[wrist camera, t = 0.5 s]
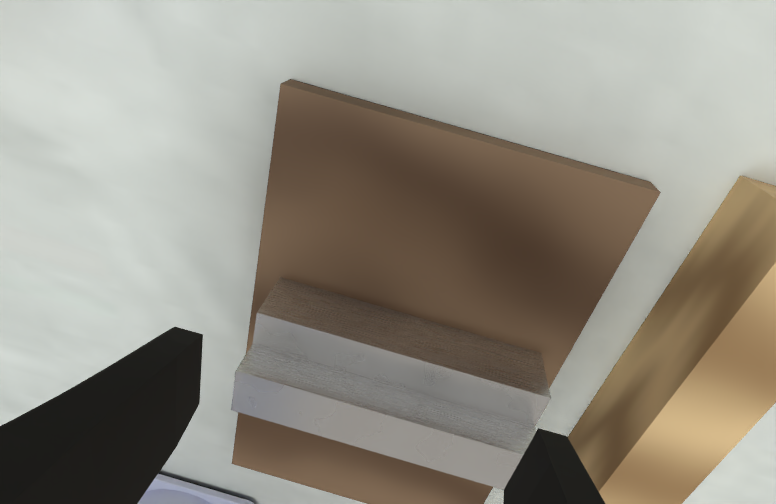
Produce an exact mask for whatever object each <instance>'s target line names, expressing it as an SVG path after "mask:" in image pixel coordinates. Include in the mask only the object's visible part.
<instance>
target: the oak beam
mask: <svg viewBox="0 0 776 504" xmlns="http://www.w3.org/2000/svg"><path fill="white" fill-rule="evenodd" d="M775 403H776V186H774V185H770V184H767V183H764V182H760V181H757V180H753V179H750V178H747V177H743V176H740V177H739V178H738V180H737V181H736V183H735V184H734V186H733V187H732V189H731V190H730V192H729V193H728V195H727V196H726V198H725V199H724V201H723V203H722V204H721V206H720V207H719V209H718V210H717V212H716V213H715V215H714V216H713V218H712V219H711V221H710V222H709V224H708V225H707V227H706V228H705V230H704V231H703V233H702V234H701V236H700V237H699V239H698V240H697V242H696V244H695V245H694V247H693V248H692V250H691V251H690V253H689V254H688V256H687V257H686V259H685V260H684V262H683V263H682V265H681V266H680V268H679V269H678V271H677V272H676V274H675V275H674V277H673V278H672V280H671V281H670V283H669V284H668V286H667V288H666V289H665V291H664V292H663V294H662V295H661V297H660V298H659V300H658V301H657V303H656V304H655V306H654V307H653V309H652V310H651V312H650V313H649V315H648V316H647V318H646V319H645V321H644V322H643V324H642V325H641V327H640V328H639V330H638V332H637V333H636V335H635V336H634V338H633V339H632V341H631V342H630V344H629V345H628V347H627V348H626V350H625V351H624V353H623V354H622V356H621V357H620V359H619V360H618V362H617V363H616V365H615V366H614V368H613V369H612V371H611V372H610V374H609V376H608V377H607V379H606V380H605V382H604V383H603V385H602V386H601V388H600V389H599V391H598V392H597V394H596V395H595V397H594V398H593V400H592V401H591V403H590V404H589V406H588V407H587V409H586V410H585V412H584V413H583V415H582V416H581V418H580V420H579V421H578V423H577V424H576V426H575V427H574V429H573V430H572V432H571V433H570V435H569V436H568V439H569V441H570V442H571V444H572V446H573V447H574V449H575V451H576V453H577V454H578V456H579V458H580V460H581V462H582V463H583V465H584V467H585V469H586V470H587V472H588V474H589V476H590V477H591V479H592V481H593V483H594V484H595V486H596V488H597V490H598V491H599V493H600V495H601V497H602V498H603V500H604V502H605V504H682V503H683V502H684V501H685V499H686V498H687V497H688V496H689V495H690V494H691V493H692V492H693V491H694V490H695V489H696V488H697V487H698V485H699V484H700V483H701V482H702V481H703V480H704V479H705V478H706V477H707V476H708V475H709V474H710V473H711V471H712V470H713V469H714V468H715V467H716V466H717V465H718V464H719V463H720V462H721V461H722V460H723V459H724V457H725V456H726V455H727V454H728V453H729V452H730V451H731V450H732V449H733V448H734V447H735V446H736V445H737V443H738V442H739V441H740V440H741V439H742V438H743V437H744V436H745V435H746V434H747V433H748V432H749V431H750V429H751V428H752V427H753V426H754V425H755V424H756V423H757V422H758V421H759V420H760V419H761V418H762V417H763V415H764V414H765V413H766V412H767V411H768V410H769V409H770V408H771V407H772V406H773V405H774V404H775Z"/></svg>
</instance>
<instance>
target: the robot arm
mask: <svg viewBox="0 0 776 504" xmlns="http://www.w3.org/2000/svg"><path fill="white" fill-rule="evenodd" d="M202 339H203V335H202V334H199V333H195V332H192V331H188V330H184V329H181V328H177V327H174V328H172V329H170V330H168V331H166V332H165V333H163V334H161V335H160V336H158V337H156V338H155V339H153V340H152V341H150V342H148V343H147V344H145V345H143V346H142V347H140V348H139V349H137V350H135V351H134V352H132V353H130V354H129V355H127V356H125V357H124V358H122V359H120V360H119V361H117V362H116V363H114V364H112V365H111V366H109V367H107V368H106V369H104V370H102V371H100V372H99V373H97V374H95V375H93V376H92V377H90V378H88V379H87V380H85V381H83V382H81V383H80V384H78V385H76V386H75V387H73V388H71V389H69V390H68V391H66V392H64V393H62V394H60V395H59V396H57V397H55V398H53V399H51V400H49V401H47V402H45V403H44V404H42V405H40V406H38V407H36V408H34V409H32V410H30V411H29V412H27V413H25V414H23V415H21V416H19V417H17V418H15V419H14V420H12V421H10V422H8V423H6V424H4V425H2V426H0V504H254V503H253V502H251V501H249V500H246V499H243V498H239V497H236V496H232V495H229V494H226V493H222V492H219V491H215V490H212V489H209V488H205V487H202V486H198V485H195V484H192V483H188V482H185V481H182V480H178V479H175V478H171V477H168V476H165V475H161V474H158V473H159V471H160V470H161V469H162V467H163V466H164V464H165V463H166V461H167V460H168V458H169V457H170V455H171V454H172V452H173V451H174V449H175V448H176V446H177V444H178V442H179V441H180V439H181V437H182V435H183V433H184V431H185V430H186V428H187V426H188V424H189V422H190V420H191V418H192V416H193V414H194V412H195V411H196V409H197V407H198V405H199V399H200V379H201V359H202ZM504 504H605V502H604V500H603V498H602V497H601V495H600V493H599V491H598V490H597V488H596V486H595V484H594V483H593V481H592V479H591V477H590V476H589V474H588V472H587V470H586V469H585V467H584V465H583V463H582V462H581V460H580V458H579V456H578V454H577V453H576V451H575V449H574V447H573V446H572V444H571V442H570V441H569V439H568V437H567V436H564V435H560V434H556V433H553V432H549V431H546V430H542V429H539V428H538V430H537V432H536V433H535V435H534V437H533V439H532V440H531V442H530V444H529V446H528V448H527V449H526V451H525V453H524V455H523V456H522V458H521V460H520V462H519V464H518V465H517V467H516V469H515V471H514V472H513V474H512V476H511V478H510V480H509V481H508V483H507V485H506V487H505V489H504Z"/></svg>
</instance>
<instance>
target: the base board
mask: <svg viewBox="0 0 776 504" xmlns="http://www.w3.org/2000/svg"><path fill="white" fill-rule="evenodd" d="M660 193H661V192H660V191H659V190H658V189H657V188H656V187H655V186H654V185H653V184H652V183H651V182H648V181H645V180H641V179H638V178H634V177H631V176H627V175H624V174H620V173H617V172H613V171H610V170H606V169H603V168H599V167H596V166H592V165H589V164H585V163H582V162H578V161H575V160H571V159H568V158H564V157H561V156H557V155H554V154H550V153H547V152H543V151H540V150H536V149H533V148H529V147H526V146H522V145H519V144H515V143H512V142H508V141H505V140H501V139H498V138H494V137H491V136H487V135H484V134H480V133H477V132H473V131H470V130H466V129H463V128H459V127H456V126H452V125H449V124H445V123H442V122H438V121H435V120H431V119H428V118H424V117H421V116H417V115H414V114H410V113H407V112H403V111H400V110H396V109H393V108H389V107H386V106H382V105H379V104H375V103H372V102H368V101H365V100H361V99H358V98H354V97H351V96H347V95H344V94H340V93H337V92H333V91H330V90H326V89H323V88H319V87H316V86H312V85H309V84H305V83H302V82H298V81H295V80H291V79H290V80H288V81H285V82H283V83H281V85H280V93H279V101H278V108H277V116H276V124H275V132H274V139H273V147H272V155H271V163H270V171H269V178H268V186H267V194H266V202H265V209H264V217H263V225H262V233H261V241H260V248H259V256H258V264H257V272H256V280H255V287H254V295H253V303H252V311H251V318H250V326H249V334H248V342H247V350H246V354H247V352H248V350H249V349H250V347H251V345H252V344H253V337H254V330H255V322H256V315H257V312H258V310H259V309H260V307H261V306H262V304H263V303H264V301H265V299H266V298H267V296H268V295H269V293H270V292H271V290H272V289H273V287H274V286H275V284H276V283H277V281H278V280H279V278H280V277H281V278H285V279H288V280H291V281H295V282H298V283H302V284H305V285H309V286H312V287H316V288H319V289H322V290H326V291H329V292H333V293H336V294H340V295H343V296H347V297H350V298H354V299H357V300H360V301H364V302H367V303H371V304H374V305H378V306H381V307H385V308H388V309H391V310H395V311H398V312H402V313H405V314H409V315H412V316H416V317H419V318H422V319H426V320H429V321H433V322H436V323H440V324H443V325H447V326H450V327H454V328H457V329H460V330H464V331H467V332H471V333H474V334H478V335H481V336H485V337H488V338H491V339H495V340H498V341H502V342H505V343H509V344H512V345H516V346H519V347H523V348H526V349H529V350H533V351H536V352H540V353H541V354H542V358H543V363H544V368H545V373H546V377H547V382H548V387H549V388H550V386H551V384H552V382H553V381H554V379H555V377H556V375H557V374H558V372H559V370H560V368H561V367H562V365H563V363H564V361H565V359H566V358H567V356H568V354H569V352H570V351H571V349H572V347H573V345H574V344H575V342H576V340H577V338H578V337H579V335H580V333H581V331H582V330H583V328H584V326H585V324H586V323H587V321H588V319H589V317H590V316H591V314H592V312H593V310H594V309H595V307H596V305H597V303H598V301H599V300H600V298H601V296H602V294H603V293H604V291H605V289H606V287H607V286H608V284H609V282H610V280H611V279H612V277H613V275H614V273H615V272H616V270H617V268H618V266H619V265H620V263H621V261H622V259H623V258H624V256H625V254H626V252H627V251H628V249H629V247H630V245H631V243H632V242H633V240H634V238H635V236H636V235H637V233H638V231H639V229H640V228H641V226H642V224H643V222H644V221H645V219H646V217H647V215H648V214H649V212H650V210H651V208H652V207H653V205H654V203H655V201H656V200H657V198H658V196H659V194H660ZM232 464H235V465H238V466H241V467H245V468H248V469H252V470H255V471H258V472H262V473H265V474H269V475H272V476H275V477H279V478H282V479H286V480H289V481H292V482H296V483H299V484H303V485H306V486H309V487H313V488H316V489H320V490H323V491H326V492H330V493H333V494H337V495H340V496H343V497H347V498H350V499H354V500H357V501H360V502H364V503H367V504H484V502H485V500H486V498H487V497H488V495H489V493H490V491H491V490H492V488H493V487H492V486H489V485H485V484H482V483H479V482H475V481H472V480H468V479H465V478H461V477H458V476H455V475H451V474H448V473H444V472H441V471H438V470H434V469H431V468H427V467H424V466H421V465H417V464H414V463H410V462H407V461H403V460H400V459H397V458H393V457H390V456H386V455H383V454H380V453H376V452H373V451H369V450H366V449H362V448H359V447H356V446H352V445H349V444H345V443H342V442H339V441H335V440H332V439H328V438H325V437H322V436H318V435H315V434H311V433H308V432H304V431H301V430H298V429H294V428H291V427H287V426H284V425H281V424H277V423H274V422H270V421H267V420H264V419H260V418H257V417H253V416H250V415H246V414H243V413H240V412H238V420H237V427H236V435H235V443H234V451H233V459H232Z"/></svg>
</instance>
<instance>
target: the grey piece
mask: <svg viewBox="0 0 776 504" xmlns="http://www.w3.org/2000/svg"><path fill="white" fill-rule="evenodd" d="M550 399H551V396H550V392H549V387H548V382H547V377H546V373H545V368H544V363H543V358H542V354H541V353H540V352H536V351H533V350H529V349H526V348H523V347H519V346H516V345H512V344H509V343H505V342H502V341H498V340H495V339H491V338H488V337H485V336H481V335H478V334H474V333H471V332H467V331H464V330H460V329H457V328H454V327H450V326H447V325H443V324H440V323H436V322H433V321H429V320H426V319H422V318H419V317H416V316H412V315H409V314H405V313H402V312H398V311H395V310H391V309H388V308H385V307H381V306H378V305H374V304H371V303H367V302H364V301H360V300H357V299H354V298H350V297H347V296H343V295H340V294H336V293H333V292H329V291H326V290H322V289H319V288H316V287H312V286H309V285H305V284H302V283H298V282H295V281H291V280H288V279H285V278H281V277H280V278H279V280H278V281H277V283H276V284H275V286H274V287H273V289H272V290H271V292H270V293H269V295H268V296H267V298H266V299H265V301H264V303H263V304H262V306H261V307H260V309H259V310H258V312H257V315H256V322H255V330H254V337H253V344H252V345H251V347H250V349H249V350H248V352H247V354H246V355H245V357H244V358H243V360H242V362H241V363H240V365H239V367H238V368H237V370H236V374H235V382H234V391H233V399H232V408H231V410H233V411H236V412H240V413H243V414H246V415H250V416H253V417H257V418H260V419H264V420H267V421H270V422H274V423H277V424H281V425H284V426H287V427H291V428H294V429H298V430H301V431H304V432H308V433H311V434H315V435H318V436H322V437H325V438H328V439H332V440H335V441H339V442H342V443H345V444H349V445H352V446H356V447H359V448H362V449H366V450H369V451H373V452H376V453H380V454H383V455H386V456H390V457H393V458H397V459H400V460H403V461H407V462H410V463H414V464H417V465H421V466H424V467H427V468H431V469H434V470H438V471H441V472H444V473H448V474H451V475H455V476H458V477H461V478H465V479H468V480H472V481H475V482H479V483H482V484H485V485H489V486H492V487H496V488H499V489H502V490H504V489H505V487H506V485H507V483H508V481H509V480H510V478H511V476H512V474H513V472H514V471H515V469H516V467H517V465H518V464H519V462H520V460H521V458H522V456H523V455H524V453H525V451H526V449H527V448H528V446H529V444H530V442H531V440H532V439H533V437H534V435H535V433H536V431H535V425H536V423H537V421H538V419H539V418H540V416H541V414H542V413H543V411H544V409H545V407H546V406H547V404H548V402H549V400H550Z"/></svg>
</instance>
